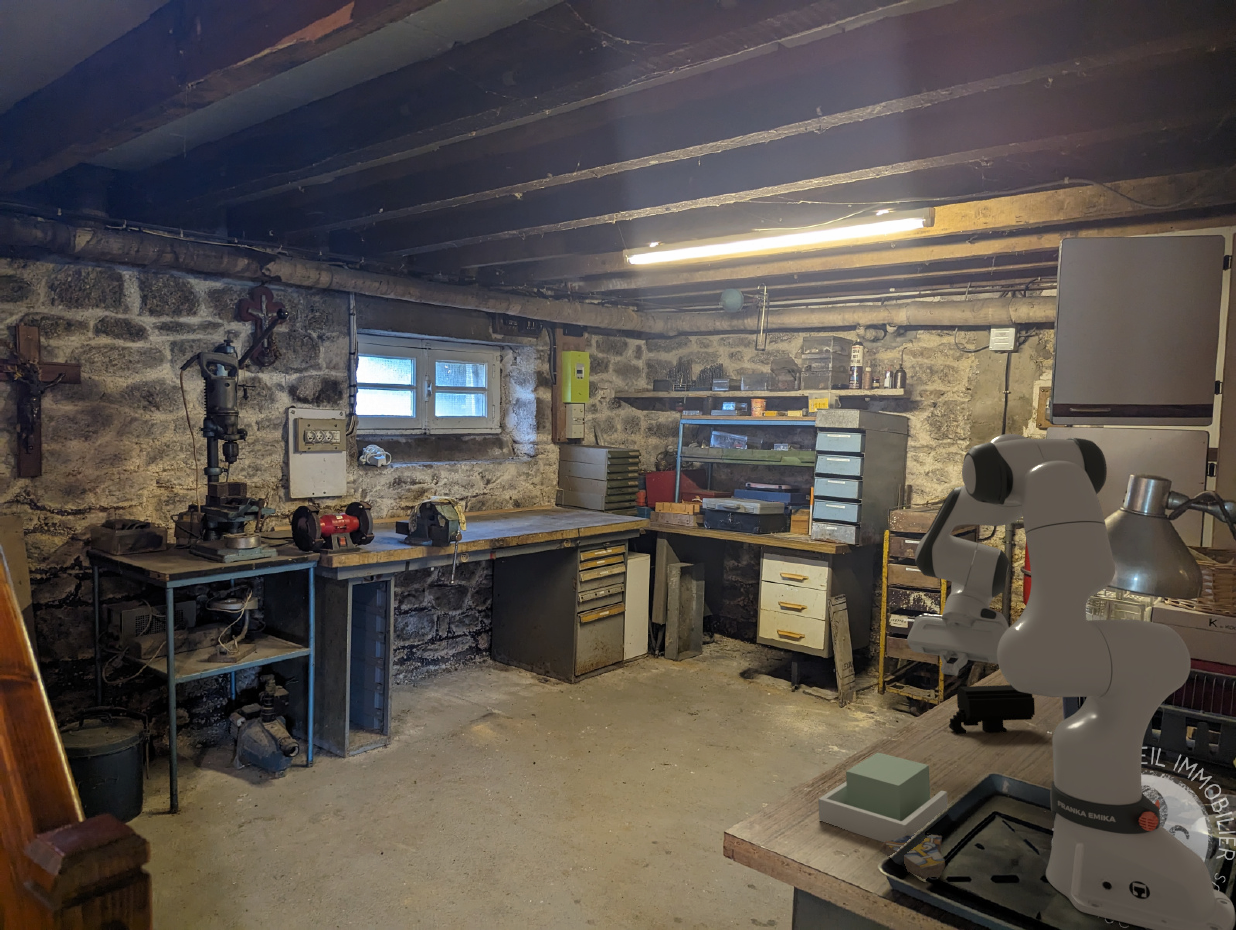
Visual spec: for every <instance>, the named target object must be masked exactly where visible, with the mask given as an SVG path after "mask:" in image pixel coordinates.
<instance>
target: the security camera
mask: <svg viewBox="0 0 1236 930" xmlns="http://www.w3.org/2000/svg"><path fill="white" fill-rule="evenodd" d="M956 698H957V699H956V701H957V703H956V704H957V708H958V711H956V713H955V714H953V715H952V717H951V718H949V723H948V728H949V729H951V731H953V732H954V733H955V734H957V735H958V734H959V735H960V734H961V735H962V734H967V729H966V728H964V727H963V725H964V726H965V727H968V726H969V727H970V726H971V727H973V726H979V723H981V728H982V729H981V730H982V731H984V732H985V733H986V734H997V733H998V734H1001V733H1003V734H1005V733H1008V728H1006V727H1005V726H1004V721H1024V720H1033V719H1032V718H1034V716H1035V713H1036V712H1035V698H1034V697H1033V694H1029V693H1024V692H1020V691H1017V690H1016V689H1015V688H1013V687H1012V686H1011V685H1010V684H1007V685H1005V684H1004V685H1001V684H1000V685H972V686H959V688H958V689H957V691H956ZM962 723H963V725H962Z"/></svg>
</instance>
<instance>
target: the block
mask: <svg viewBox="0 0 1236 930" xmlns="http://www.w3.org/2000/svg"><path fill="white" fill-rule="evenodd" d="M845 777H846V778H845V779H846V780H845V782H847V805H849V806H853V807H856V808H859V809H863V810H866V811H869V812H872V813H876V814H879V815H882V816H886V817H889V818H892V819H895V820H899V821H903V820H904V819H906V818H907V817H908V816H909V815H911V814H912V813H913V812H915V811H916V810H917V809H918V808H920V807H921V806H922V805H923V804H925V803H926V802H927V801H929V800H930V799H931V786H930V784H931V782H930V781H931V780H930V765H929V764H926V763H923V762H917V761H914V760H911V759H906V758H902V757H898V756H893V755H890V754H885V753H882V752H876V753H874V754H872V755H871V756H869V757H868V758H866V759H864V760H863V761H861V762H859V763H857V764H856V765H853V766H852V767H850V768H849V769H847V770H846V771H845Z"/></svg>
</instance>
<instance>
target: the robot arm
mask: <svg viewBox="0 0 1236 930" xmlns="http://www.w3.org/2000/svg"><path fill="white" fill-rule="evenodd" d="M962 463H963V464H962V467H961V476H962V477H961V478H962V481H963V484H964V485H962V486H958V487H954V488H953V489H952V490H951V491H949V493H948V495H947V496H946V498H945V499H944V501H943V503H942V504H941V506H940V508H939V510H938V512H937V513H936V515H935V517H934V520H933V521H932V523H931V525H930V527H929V528H928V529H927V530H926V531H927V532H926V533H925V534H924V536H923V537H922V538H921V540H920V541H919V543H918V544H917V547H916V549H915V554H914V556H915V557H914V561H915V565H916V568H918V570H919V571H920V572H921V573H922V575H923V576H926V577H930V578H935V579H942V580H944V581H948V582H951V586H950V589H951V591H950V594H949V595H948V597H947V598H946V601H945V603H944V604H945V605H944V608H943V610H942V614H930V613H922V614H920V615H918V616H916V617H915V618H914V621H913V624H912V627H911V629H910V631H909V633H908V636H907V638H906V642H907V645H908V647H909V648H910V650H911V651H912V652H913V653H919V654H920V653H921V654H925V655H933V656H939V658H940V660H941V667H940V671H941V673H942V675H943V674H944V675H951V676H955V677H957V676H959V673H960V672H959V671H960V670H961V669H962V668H963V667H964V666H966V665H967V663H968V660H969V661H975V662H981V663H987V664H995V665H996V664H997V665H998V668H999V670H1000V672H1001V674H1002V676H1003V678H1004V679H1005V680H1006V682H1007V683H1008V685H1011V686H1012V687H1013V688H1015V689H1016V690H1017V691H1020V692H1024V693H1029V694H1032V695H1035V696H1043V697H1047V698H1048V697H1049V698H1078V697H1080V698H1081V697H1082V698H1084V697H1086V699H1085V701H1084V702H1083V704H1082V706H1081V707H1080V708H1079V709H1078V710H1077V711H1076V712H1075V713H1074V714H1072V715H1070V716H1068V717H1067V718H1065V719H1063V720H1062V721H1061V722H1059V723H1058V724H1057V726H1056V728H1055V729H1054V730H1053V731H1054V732H1053V734H1052V738H1051V742H1052V746H1051V747H1052V766H1053V767H1052V768H1053V781H1051V783H1050V791H1049V792H1050V797H1049V798H1050V810H1051V814H1052V819H1053V835H1052V843H1051V850H1050V855H1049V856H1050V857H1049V860H1048V863H1047V867H1046V870H1045V877H1046V879H1047V881H1048V883H1050V885H1052V886H1053V888H1054V889H1055V890H1057V891H1058V892H1060V893H1061V894H1063V895H1064V896H1065V897H1067V898H1068V899H1069V901H1070V902H1071V904H1072V905H1073V906H1074V907H1075V909H1076V910H1078V911H1080V912H1082V913H1084V914H1089V915H1093V916H1096V917H1101V918H1105V919H1109V920H1113V921H1118V922H1120V923H1126V924H1129V925H1133V926H1137V927H1141V928H1145V929H1150V930H1233V929H1234V927H1235V925H1236V912H1235V907H1234V905H1233V902H1232V900H1231V899H1230V898H1229V897H1228V896H1227V895H1226V894H1225V893H1224V892H1222V891H1220V890H1217V889H1214V887H1213V882H1212V879H1211V878H1212V877H1211V875H1210V872H1209V870H1208V867H1207V865H1206V863H1205V861H1204V860H1203V858H1202V857H1201V856H1200V855H1198V854H1197V853H1196V852H1195V851H1194V850H1192V849H1191V848H1190V847H1188V846H1187V845H1186V844H1184V842H1182V841H1181V840H1180V839H1178V838H1177V837H1175V836H1174V834H1172V833H1171V832H1169V830H1167V829H1166V828H1165V827H1163V826H1162V825H1161V814H1160V813H1161V812H1160V810H1161V808H1160V807H1161V804H1160V800H1159V799H1157V800H1155V802H1153V801H1152V800H1151V799H1149V798H1148V797H1147V796H1146V795H1145V794H1144V793H1143V791H1142V790H1143V789H1142V788H1143V787H1142V753H1143V752H1142V751H1143V743H1144V738H1145V735H1146V731H1147V729H1148V727H1149V724H1150V721H1151V720H1152V718H1153V716H1154V714H1155V713H1156V712H1157V710H1158V708H1159V707H1160V706H1161V704H1162V703H1163V702H1164V701H1165V700H1166V699H1167V698H1168V697H1169V696H1170V695H1172V694H1174V692H1176V691H1177V690H1178V689H1180V688H1182V687H1183V686H1184V684H1185V683H1186V682H1187V680H1188V678H1189V675H1190V672H1191V665H1192V664H1191V663H1192V662H1191V661H1192V660H1191V655H1190V651H1189V649H1188V647H1187V645H1186V643H1185V641H1184V640H1183V638H1182V636H1181V635H1179V633H1178V632H1177V631H1175V630H1174V629H1173V628H1172V627H1170V626H1168V625H1166V624H1163V623H1157V622H1151V621H1146V620H1139V619H1134V618H1133V619H1131V618H1126V619H1125V618H1124V619H1119V618H1118V619H1091V620H1090V619H1087V615H1086V614H1087V613H1086V612H1087V611H1086V608H1087V603H1088V600H1089V598H1091V597H1093V596H1095V595H1096V594H1099V593H1100V592H1101V591H1103V590H1104V589H1105V588H1107V587H1108V586H1109V585H1110V584H1111V583H1112V581H1113V579H1114V577H1115V575H1116V566H1115V565H1116V564H1115V560H1114V556H1113V553H1112V552H1113V551H1112V547H1111V543H1110V538H1109V534H1108V529H1107V525H1106V521H1105V515H1104V513H1103V510H1102V507H1101V503H1100V500H1099V498H1098V494H1099V493H1100V492H1101V490H1102V489H1103V487H1104V485H1105V483H1106V481H1107V474H1108V473H1107V471H1108V469H1107V467H1108V466H1107V461H1106V458H1105V455H1104V452H1103V451H1102V448H1100V446H1098V444H1096V443H1095V441H1092V440H1090V439H1086V438H1085V439H1084V438H1078V437H1068V438H1066V439H1064V438H1063V439H1062V438H1034V439H1033V438H1030V437H1029V438H1028V437H1026V436H1024V435H1021V434H1018V433H1006V434H1000V435H998V436H996V437H994V438H992V440H990V441H988V442H984V443H981V444H980V443H979V444H977V445H974V446H972V447H970V448H969V449H968V451H967V452H966V454H965V455H964V458H963V462H962ZM1020 519H1022V521H1023V528H1024V533H1025V534H1024V535H1025V541H1026V546H1027V551H1028V552H1027V553H1028V558H1029V567H1030V576H1031V578H1030V579H1031V580H1030V581H1031V583H1030V584H1031V585H1030V586H1031V587H1030V592H1029V596H1028V599H1027V602H1026V605H1025V608H1024V609H1023V611H1022V613H1021V615H1020V616H1019V617H1018V618H1017V619H1016V621H1015V622H1014V623H1013V624H1011V626H1009V624H1008V620H1007V619H1006V617H1005V616H1004V614H1003V613H1002V612H1000V611H997V610H994V609H993V608H990V607H991V606H990V604H991V603H992V601H994V600H993V599H994V598H995V597H997V596H999V595H1000V594H1002V593H1004V590H1005V588H1006V580H1007V577H1008V575H1009V572H1010V569H1011V562H1010V560H1009V558H1008V556H1007V555H1006V553H1005V552H1004V551H1003V550H1002V549H999V548H997V547H995V546H990V545H987V544H983V543H980V542H976V541H972V540H968V539H965V538H964V539H963V538H961V537H958V536H957V537H956V536H953V534H951V533H952V532H953V530H954V528H955V527H957V526H962V525H963V526H964V525H976V526H988V527H1000V526H1001V527H1002V526H1007V525H1010V524H1012V523H1015V522H1017V521H1019V520H1020ZM950 658H955V659H956V661H955V662H954V663H947V662H948V661H949V660H950Z"/></svg>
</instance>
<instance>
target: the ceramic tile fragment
mask: <svg viewBox="0 0 1236 930" xmlns="http://www.w3.org/2000/svg"><path fill="white" fill-rule="evenodd" d="M914 835H915V834H913V835H909V836H905V837H901V838H897V839H893V840H888V841H885V842H882V843H883V844H882V845H881V846H880V852H882V853H883V855H885V856H887V858H888V856H890V855H892V854H893V853H895V852H897V850H898V849H900V847H901V846H904V844H905V843H907V841H908V840H909V839H911V837H912V836H914ZM942 838H943V836H942V835H938V834H931V835H929V836H927V838H925V839H924V841H922V842H921V843H920V844H918V845H917V846H916V847H914V848H913V849H911V850H910V851H909V852H907V854H905V855H904V864H905V866H906V869H907V871H906V872H907V873H909V872H910V873H913V874H915V875H917V876H919V877H921V878H922V879H927V878H928V877H939V878H940V877H941V875H942V873H943V871H944V870H945V867H946V862H945V861H946V859H945V858H944V857H943V858H942V856H943V855H942V856H941V854H942V851H941V848H942V847H941V846H942V840H943V839H942ZM910 873H909V874H910Z"/></svg>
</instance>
